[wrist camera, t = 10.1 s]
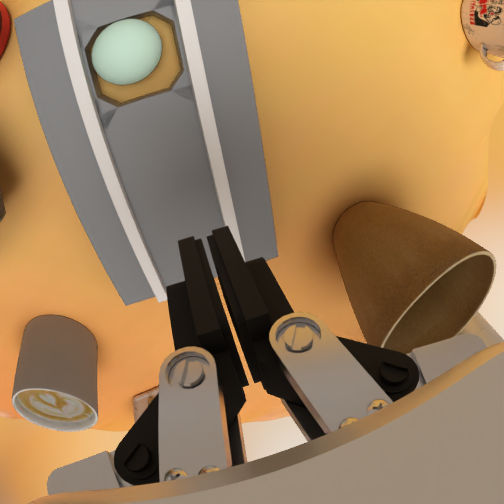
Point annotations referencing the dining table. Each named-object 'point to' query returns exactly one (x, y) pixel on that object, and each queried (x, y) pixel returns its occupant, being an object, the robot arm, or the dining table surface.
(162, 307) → the dining table surface
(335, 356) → the robot arm
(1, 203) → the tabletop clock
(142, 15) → the board
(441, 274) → the plant pot
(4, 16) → the canned food
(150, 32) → the ball
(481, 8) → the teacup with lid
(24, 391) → the coffee mug
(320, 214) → the dining table surface
